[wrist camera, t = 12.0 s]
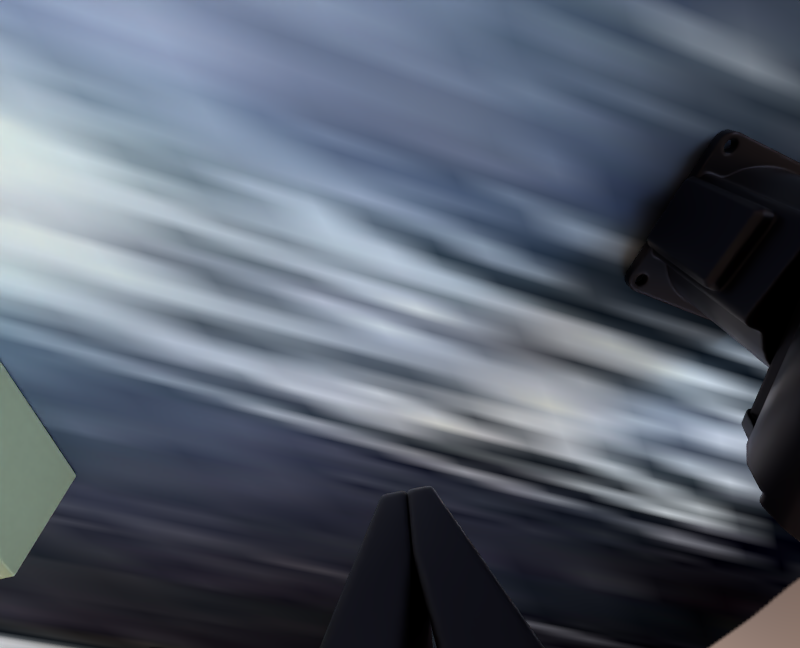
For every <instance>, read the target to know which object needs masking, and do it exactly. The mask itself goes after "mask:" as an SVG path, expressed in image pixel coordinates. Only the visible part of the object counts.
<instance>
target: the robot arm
mask: <svg viewBox="0 0 800 648" xmlns="http://www.w3.org/2000/svg"><path fill="white" fill-rule="evenodd" d="M728 140H731V145H730V147H729V148H728V149H727V150H726V151H724V145H725V143H726V142H727V141H728ZM641 274H643V277H642V279H641V280H639V281H637V282H635V280H636V278H637V277H638V276H639V275H641ZM625 282H626V284H627V285H628V286H629V287H630V288H631V289H633V290H634V291H636V292H639V293H642V294H644V295H647V296H649V297H652V298H654V299H657V300H659V301H662V302H665V303H667V304H670V305H672V306H675V307H677V308H680V309H683V310H685V311H688V312H690V313H693V314H695V315H698V316H701V317H703V318H706V319H708V320H711V321H713V322H714V323H715V324H717V325H718V326H719V327H720V328H721V329H723V330H724V331H725V332H726V333H728V334H729V335H730V336H731V337H732V338H734V339H735V340H736V341H737V342H739V343H740V344H741V345H742V346H743V347H745V348H746V349H747V350H748V351H750V352H751V353H752V354H753V355H754V356H756V357H757V358H758V359H759V360H761V361H762V362H763V363H764V364H765V365H767V366H768V367H769V369H768V371H767V374H766V376H765V378H764V381H763V383H762V385H761V388H760V390H759V392H758V395H757V397H756V399H755V402H754V404H753V406H752V409H748V410H747V411H746V413H745V416H744V418H743V421H742V426H743V429H744V431H745V433H746V436H747V438H748V442H747V465H748V467H749V469H750V471H751V473H752V475H753V477H754V479H755V481H756V483H757V485H758V486H759V488H760V490H761V491H762V492H763V493H762V495H761V497H760V503H761V505H762V506H763V507H764V509H765V510H766V511H767V512H768V513H769V514H770V515H771V516H772V517H773V518H774V519H775V520H776V521H777V522H778V523H779V524H780V525H781V526H782V527H783V528H784V529H785V530H786V531H787V532H788V533H789V534H790V535H792V536H793V537H794V538H796V539H797V540H798V541H799V542H800V163H799V162H797V161H795V160H793V159H791V158H789V157H787V156H785V155H783V154H781V153H779V152H777V151H775V150H773V149H771V148H769V147H767V146H765V145H763V144H761V143H759V142H757V141H755V140H753V139H751V138H750V137H748V136H746V135H744V134H742V133H739V132H736V131H732V130H724V131H722V132H720V133H718V134H717V135H716V136H715V137H714V139H713V140H712V142H711V143H710V145H709V146H708V148H707V149H706V151H705V152H704V154H703V155H702V157H701V158H700V160H699V162H698V163H697V165H696V166H695V168H694V169H693V171H692V172H691V174H690V175H689V177H688V178H687V179H686V180H685V181H684V182H683V183H682V185H681V187H680V188H679V190H678V191H677V193H676V194H675V196H674V197H673V199H672V200H671V202H670V203H669V205H668V207H667V208H666V210H665V211H664V213H663V214H662V216H661V217H660V219H659V220H658V222H657V224H656V225H655V227H654V228H653V230H652V231H651V233H650V234H649V236H648V240H647V241H646V243H645V245H644V246H643V248H642V249H641V251H640V252H639V254H638V255H637V257H636V258H635V260H634V261H633V263H632V265H631V266H630V268H629V269H628V271H627V272H626V275H625ZM431 627H432V631H433V635H434V638H435V642H436V646H437V648H544V646H543V645H542V643H541V642H540V641H539V639H538V638H537V636H536V635H535V633H534V632H533V630H532V629H531V628H530V626H529V625H528V623H527V622H526V620H525V619H524V618H523V616H522V615H521V613H520V612H519V610H518V609H517V608H516V606H515V605H514V603H513V602H512V600H511V599H510V597H509V596H508V595H507V593H506V592H505V590H504V589H503V587H502V586H501V585H500V583H499V582H498V580H497V579H496V577H495V576H494V575H493V573H492V572H491V570H490V569H489V567H488V566H487V565H486V563H485V562H484V560H483V559H482V557H481V556H480V554H479V553H478V552H477V550H476V549H475V547H474V546H473V544H472V543H471V542H470V540H469V539H468V537H467V536H466V534H465V533H464V532H463V530H462V529H461V527H460V526H459V524H458V523H457V521H456V520H455V519H454V517H453V516H452V514H451V513H450V511H449V510H448V509H447V507H446V506H445V504H444V503H443V501H442V500H441V499H440V497H439V496H438V494H437V493H436V491H435V490H434V489H433V488H432V487H431V486H425V487H420V488H415V489H410V490H409V491H408V493H406V492H404V491H399V492H394V493H389V494H384V495H383V496H382V497H381V498H380V500H379V503H378V505H377V508H376V510H375V512H374V515H373V517H372V520H371V522H370V525H369V527H368V530H367V532H366V535H365V537H364V539H363V542H362V544H361V547H360V549H359V552H358V554H357V557H356V559H355V562H354V564H353V566H352V569H351V571H350V574H349V576H348V579H347V581H346V584H345V586H344V589H343V591H342V593H341V596H340V598H339V601H338V603H337V606H336V608H335V611H334V613H333V616H332V618H331V620H330V623H329V625H328V628H327V630H326V633H325V635H324V638H323V640H322V643H321V645H320V647H319V648H433V646H432V631H431Z"/></svg>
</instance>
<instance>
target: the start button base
mask: <svg viewBox="0 0 800 648" xmlns="http://www.w3.org/2000/svg"><path fill="white" fill-rule="evenodd" d="M75 477H76V474H75V473H74V471H73V470H72V468H71V467H70V465H69V464H68V462H67V461H66V459H65V458H64V456H63V455H62V453H61V452H60V450H59V449H58V447H57V446H56V444H55V443H54V441H53V440H52V438H51V437H50V435H49V434H48V432H47V431H46V429H45V428H44V426H43V425H42V423H41V422H40V420H39V419H38V417H37V416H36V414H35V413H34V411H33V410H32V408H31V407H30V405H29V404H28V402H27V401H26V399H25V398H24V396H23V395H22V393H21V392H20V390H19V389H18V387H17V386H16V384H15V383H14V381H13V380H12V378H11V377H10V375H9V374H8V372H7V371H6V369H5V368H4V366H3V365H2V363H1V362H0V579H2V578H8V577H13V576H15V574H16V573H17V571H18V570H19V568H20V566H21V565H22V563H23V561H24V560H25V558H26V557H27V555H28V553H29V552H30V550H31V548H32V547H33V545H34V544H35V542H36V540H37V539H38V537H39V536H40V534H41V532H42V531H43V529H44V527H45V526H46V524H47V523H48V521H49V519H50V518H51V516H52V514H53V513H54V511H55V510H56V508H57V506H58V505H59V503H60V501H61V500H62V498H63V497H64V495H65V493H66V492H67V490H68V489H69V487H70V485H71V484H72V482H73V480H74V479H75Z"/></svg>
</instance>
